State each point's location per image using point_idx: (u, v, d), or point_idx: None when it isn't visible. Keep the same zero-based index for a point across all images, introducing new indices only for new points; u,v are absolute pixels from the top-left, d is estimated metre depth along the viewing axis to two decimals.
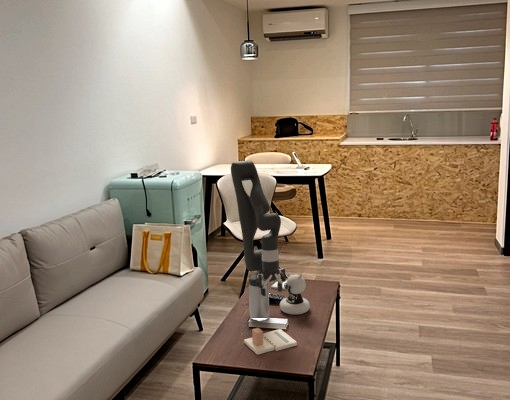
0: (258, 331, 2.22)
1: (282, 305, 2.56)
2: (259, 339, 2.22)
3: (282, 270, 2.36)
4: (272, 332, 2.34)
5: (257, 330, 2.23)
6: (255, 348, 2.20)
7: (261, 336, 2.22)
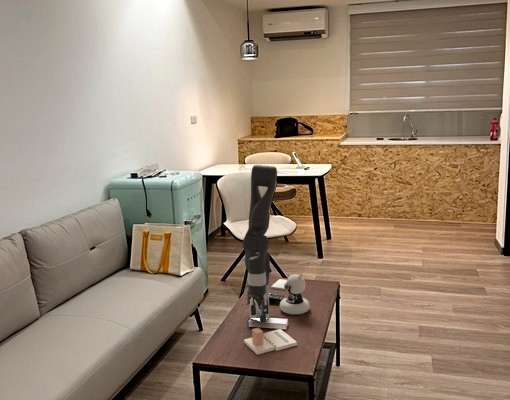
0: (258, 331, 2.22)
1: (282, 305, 2.56)
2: (259, 339, 2.22)
3: None
4: (272, 332, 2.34)
5: (257, 330, 2.23)
6: (255, 348, 2.20)
7: (261, 336, 2.22)
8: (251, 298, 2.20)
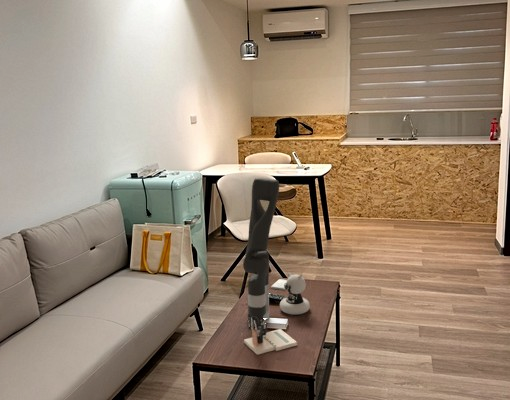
0: None
1: (282, 305, 2.56)
2: None
3: None
4: (272, 332, 2.34)
5: None
6: (255, 348, 2.20)
7: None
8: (251, 319, 2.22)
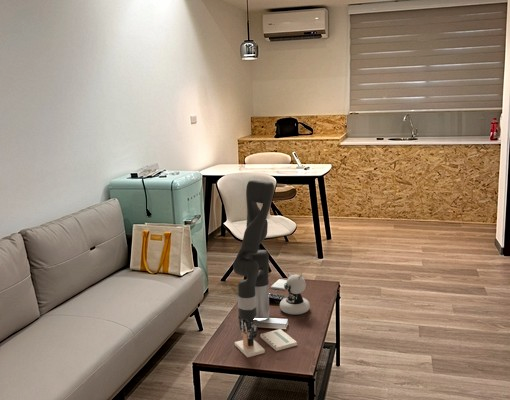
0: None
1: (282, 305, 2.56)
2: None
3: None
4: (272, 332, 2.34)
5: None
6: (245, 351, 2.18)
7: None
8: (241, 321, 2.20)
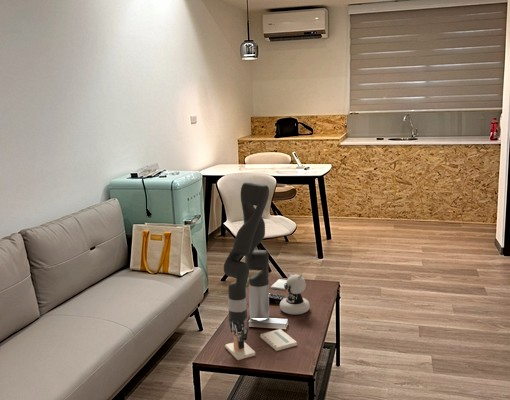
0: None
1: (282, 305, 2.56)
2: None
3: None
4: (272, 332, 2.34)
5: None
6: (236, 353, 2.16)
7: None
8: (232, 324, 2.18)
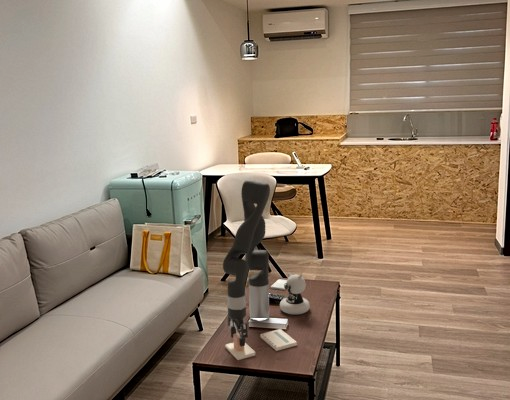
0: None
1: (282, 305, 2.56)
2: None
3: None
4: (272, 332, 2.34)
5: (238, 335, 2.19)
6: (236, 353, 2.16)
7: None
8: (231, 321, 2.18)
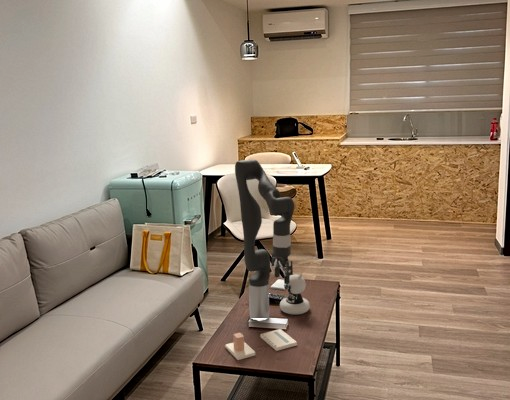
0: (239, 336, 2.18)
1: (282, 305, 2.56)
2: (240, 344, 2.18)
3: None
4: (272, 332, 2.34)
5: (238, 335, 2.19)
6: (236, 353, 2.16)
7: (242, 341, 2.18)
8: (275, 260, 2.26)
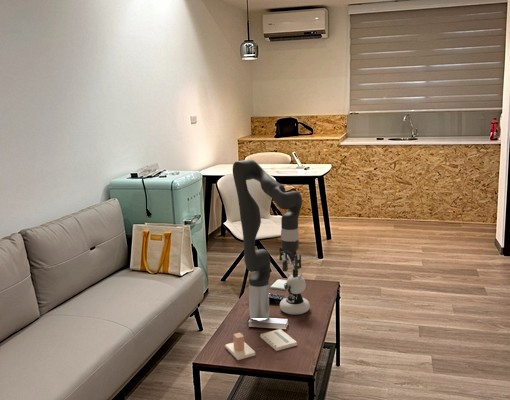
0: (239, 336, 2.18)
1: (282, 305, 2.56)
2: (240, 344, 2.18)
3: None
4: (272, 332, 2.34)
5: (238, 335, 2.19)
6: (236, 353, 2.16)
7: (242, 341, 2.18)
8: (284, 254, 2.28)
